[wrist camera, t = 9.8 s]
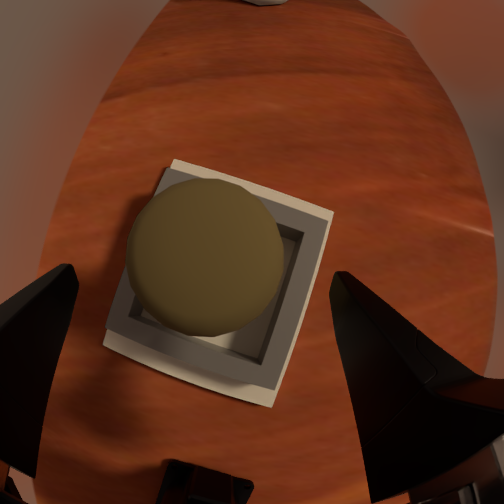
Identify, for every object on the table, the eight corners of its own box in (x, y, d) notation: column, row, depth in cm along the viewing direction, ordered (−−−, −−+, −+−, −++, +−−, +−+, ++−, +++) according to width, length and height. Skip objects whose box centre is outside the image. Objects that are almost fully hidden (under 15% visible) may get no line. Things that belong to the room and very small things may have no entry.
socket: (269, 403, 18) (277, 420, 15) (108, 343, 18) (86, 349, 15) (329, 216, 21) (346, 199, 18) (176, 165, 21) (168, 141, 18)
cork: (163, 318, 18) (80, 328, 7) (181, 228, 19) (131, 139, 8) (256, 336, 18) (289, 374, 7) (272, 244, 19) (319, 168, 9)
